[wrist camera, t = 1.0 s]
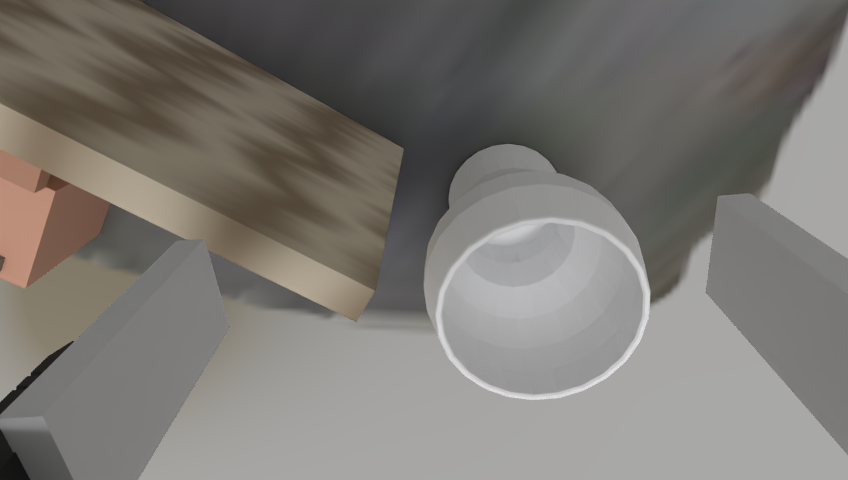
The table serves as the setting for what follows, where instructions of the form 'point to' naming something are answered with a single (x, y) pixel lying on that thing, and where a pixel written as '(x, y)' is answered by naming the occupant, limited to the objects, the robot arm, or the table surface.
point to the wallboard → (198, 143)
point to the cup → (533, 278)
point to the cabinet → (41, 220)
